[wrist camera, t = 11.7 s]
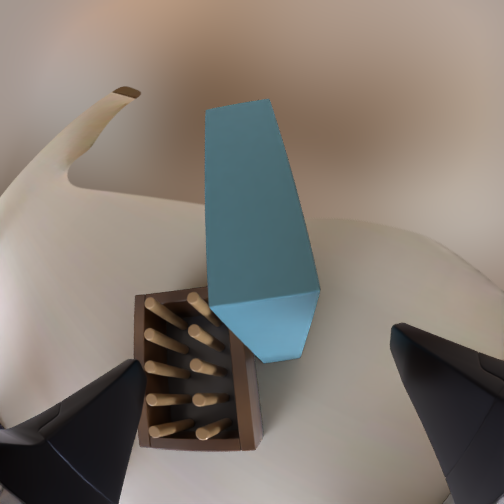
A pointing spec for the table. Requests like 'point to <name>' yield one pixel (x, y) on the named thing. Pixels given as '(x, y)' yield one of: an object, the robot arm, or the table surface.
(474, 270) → the table surface
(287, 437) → the table surface
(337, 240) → the table surface
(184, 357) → the plate rack
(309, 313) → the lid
